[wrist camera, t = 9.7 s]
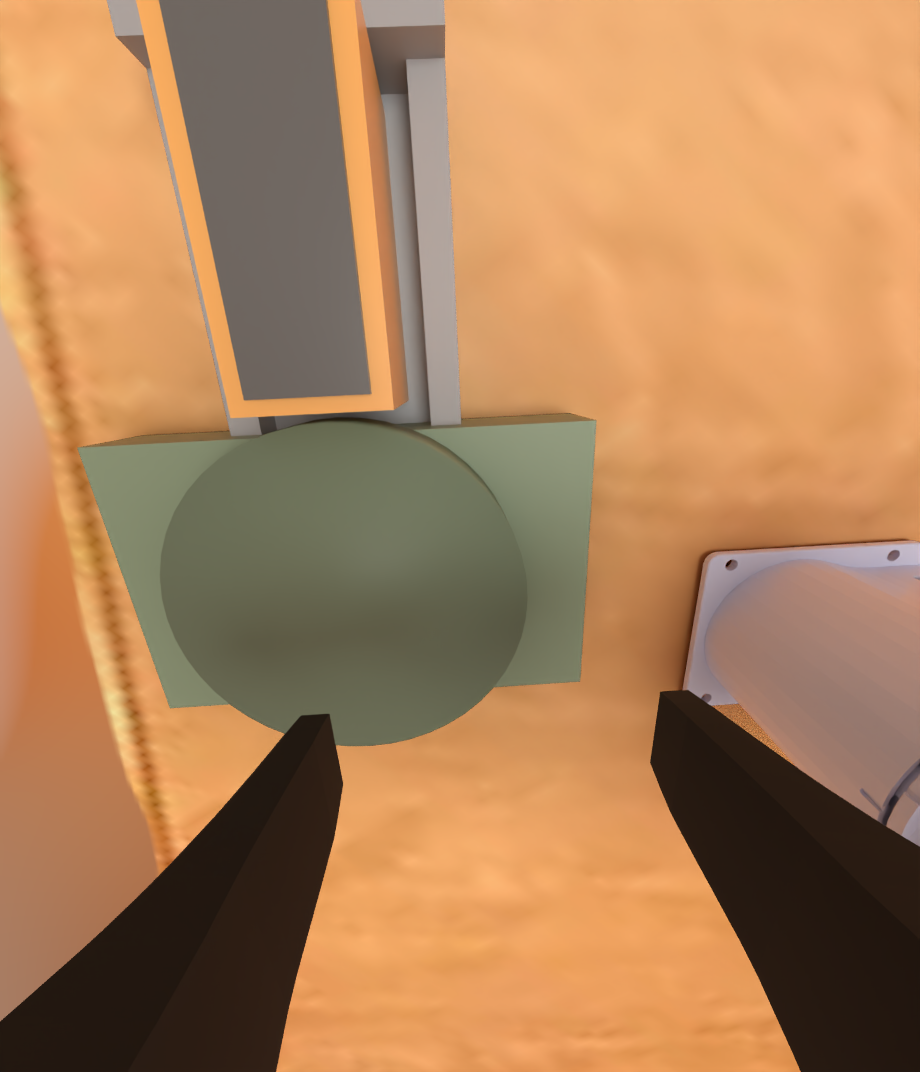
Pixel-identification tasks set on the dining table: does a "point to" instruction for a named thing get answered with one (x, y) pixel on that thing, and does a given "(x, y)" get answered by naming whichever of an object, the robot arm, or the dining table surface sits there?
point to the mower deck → (361, 497)
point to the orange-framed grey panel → (284, 198)
